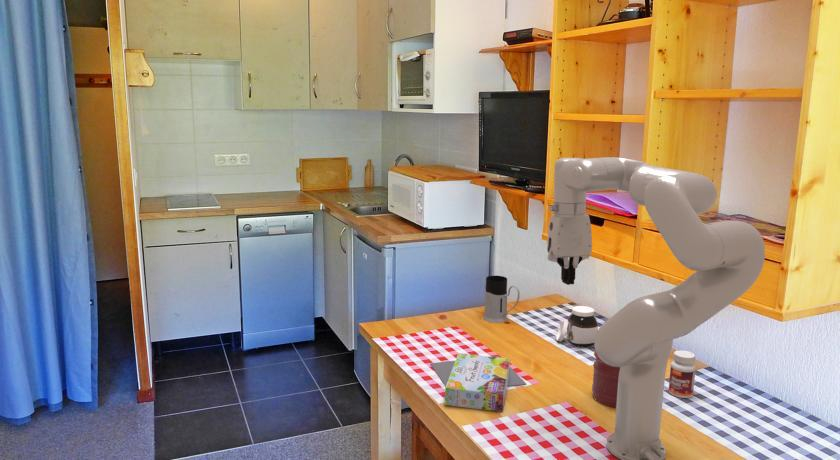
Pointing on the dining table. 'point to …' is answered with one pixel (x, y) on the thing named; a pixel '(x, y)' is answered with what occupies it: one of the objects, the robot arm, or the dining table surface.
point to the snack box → (478, 382)
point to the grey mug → (497, 299)
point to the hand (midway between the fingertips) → (568, 283)
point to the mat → (446, 367)
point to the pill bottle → (682, 374)
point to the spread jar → (579, 327)
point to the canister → (605, 382)
